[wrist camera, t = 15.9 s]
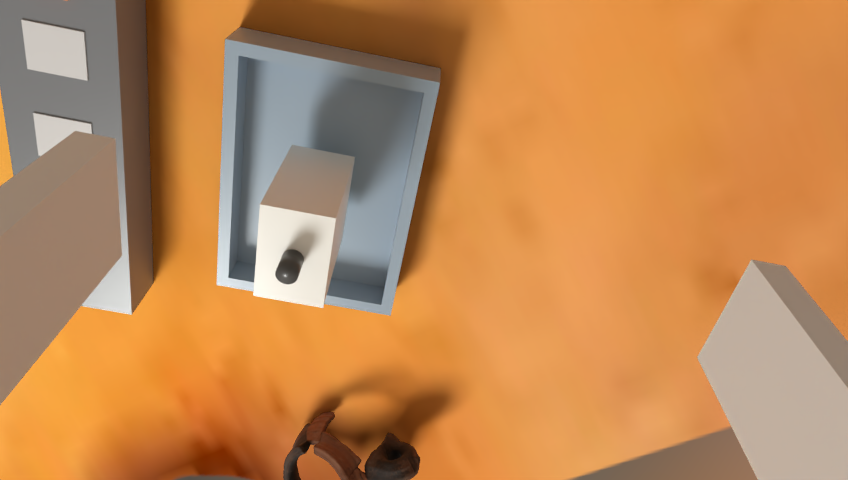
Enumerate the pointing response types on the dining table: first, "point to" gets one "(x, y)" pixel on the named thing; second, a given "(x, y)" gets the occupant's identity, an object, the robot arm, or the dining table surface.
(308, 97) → the tray
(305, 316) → the dining table surface
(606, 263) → the dining table surface
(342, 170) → the charger
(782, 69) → the dining table surface
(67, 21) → the power strip
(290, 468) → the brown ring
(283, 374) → the dining table surface
